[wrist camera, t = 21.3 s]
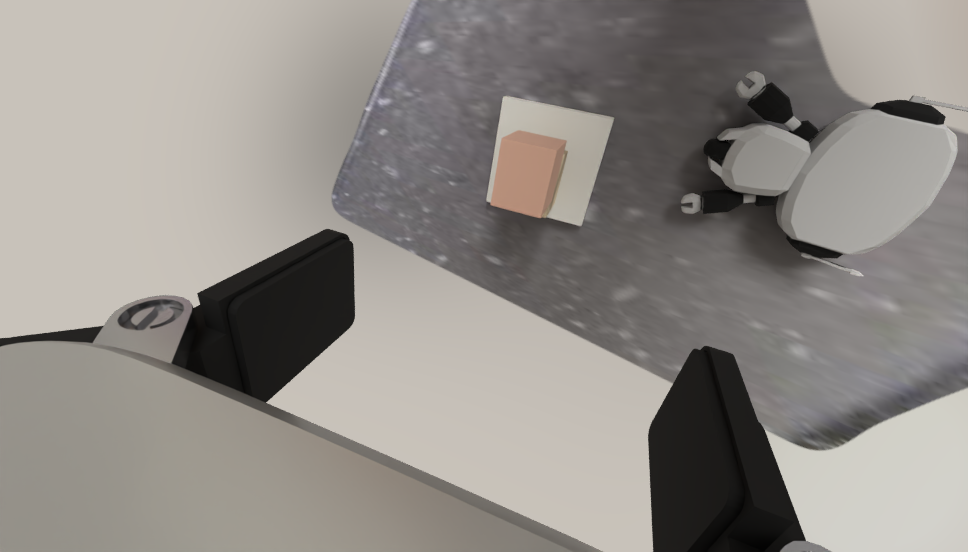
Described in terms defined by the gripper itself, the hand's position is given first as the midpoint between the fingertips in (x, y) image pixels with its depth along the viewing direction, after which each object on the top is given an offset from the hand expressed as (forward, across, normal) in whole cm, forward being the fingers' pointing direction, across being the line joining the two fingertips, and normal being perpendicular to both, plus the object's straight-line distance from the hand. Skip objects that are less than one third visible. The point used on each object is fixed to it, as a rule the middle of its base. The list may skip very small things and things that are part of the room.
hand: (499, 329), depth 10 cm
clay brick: (+24, +4, +1) cm, 24 cm away
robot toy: (+31, -16, -2) cm, 35 cm away
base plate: (+30, +4, +2) cm, 31 cm away
